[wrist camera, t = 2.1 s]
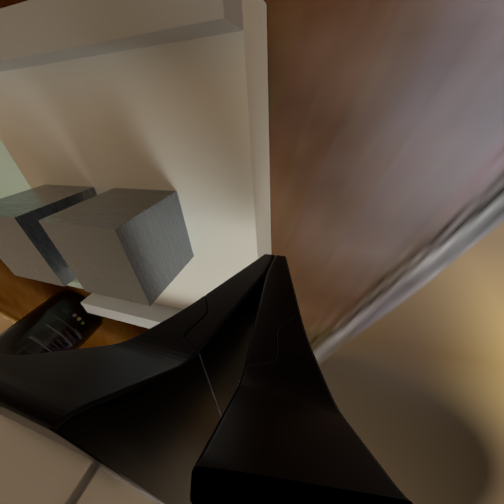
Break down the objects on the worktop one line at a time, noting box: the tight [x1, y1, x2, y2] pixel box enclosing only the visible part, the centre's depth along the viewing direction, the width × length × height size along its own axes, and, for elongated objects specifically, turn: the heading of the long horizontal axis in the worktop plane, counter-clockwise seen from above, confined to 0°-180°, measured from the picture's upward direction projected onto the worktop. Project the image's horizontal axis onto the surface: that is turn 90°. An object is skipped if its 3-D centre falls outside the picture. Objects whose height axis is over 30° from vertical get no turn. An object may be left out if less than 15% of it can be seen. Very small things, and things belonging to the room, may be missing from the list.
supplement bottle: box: [0, 291, 102, 355], centre depth 25 cm, size 7×7×12 cm
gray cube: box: [0, 185, 97, 287], centre depth 13 cm, size 4×4×4 cm
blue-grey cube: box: [38, 188, 194, 306], centre depth 11 cm, size 4×4×4 cm
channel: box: [0, 0, 271, 329], centre depth 14 cm, size 17×15×4 cm
